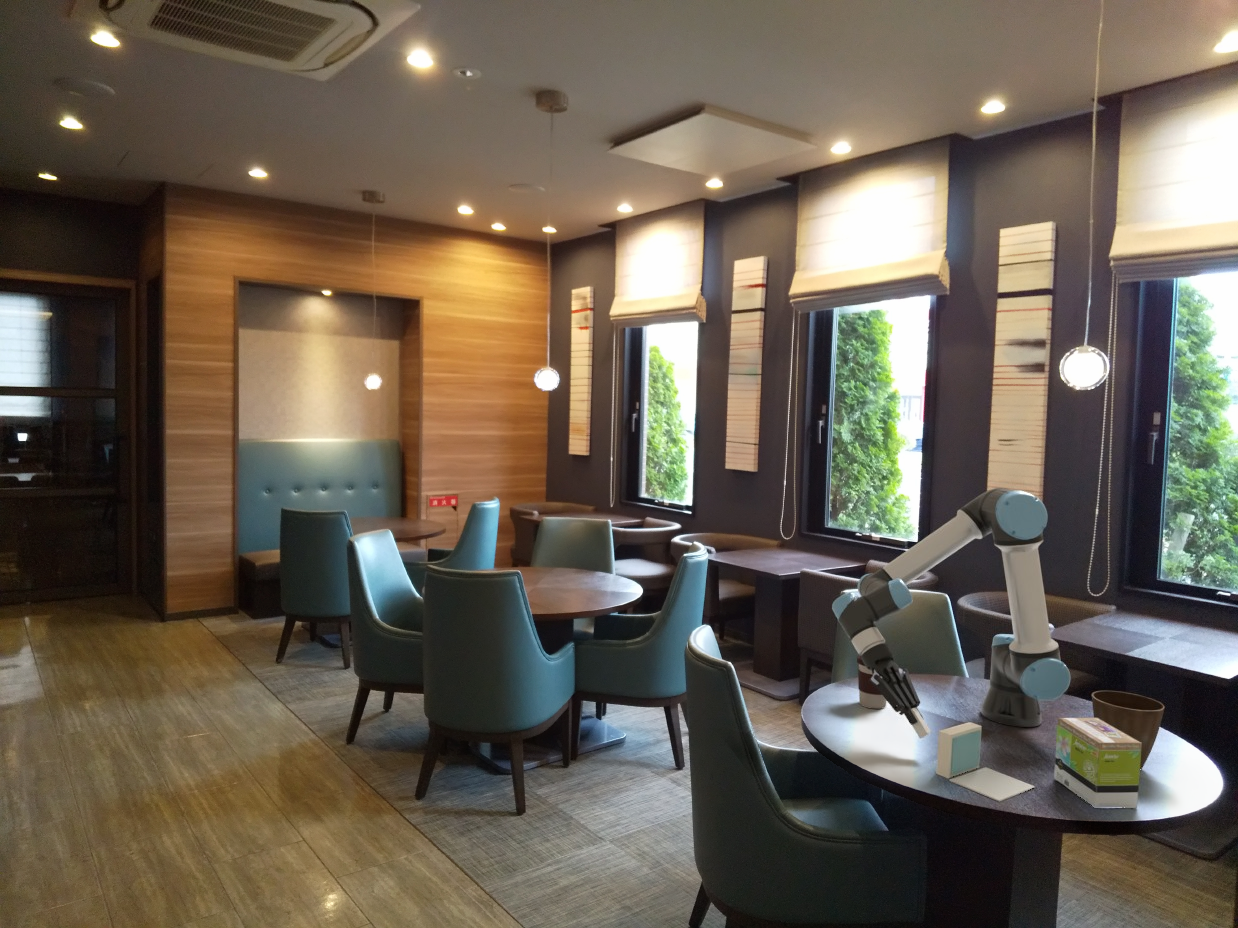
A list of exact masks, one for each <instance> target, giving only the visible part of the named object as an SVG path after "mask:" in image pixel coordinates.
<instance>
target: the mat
mask: <svg viewBox="0 0 1238 928" xmlns="http://www.w3.org/2000/svg"><path fill="white" fill-rule="evenodd" d="M948 779H949V782H951V783H953V784H956V785H958V786H961V787H963V788H965V789H968V790H970V791H973V792H975V793H978V794H980V795H983V796H985V797H986V798H990V799H992V800H994V801H997V802H999V803H1000V802H1002V801H1006V800H1008V799H1010V798H1013V797H1015V796H1018V795H1021V794H1023V793H1025V791H1026V792H1028V790H1029V791H1031V790H1033V789H1032V788H1034V789H1036V786H1035V785H1033V784H1029V783H1027V782H1025V781H1021V780H1019V779H1017V778H1014V777H1012V776H1009V775H1007V774H1004V773H1001V772H999V771H997V770H994V769H991V768H989V767H986V766H985V767H983V768H978V769H975V770H972V771H969V772H966V773H963V774H960V775H957V776H954V777H951V778H948ZM1030 789H1031V790H1030ZM1020 793H1021V794H1020Z"/></svg>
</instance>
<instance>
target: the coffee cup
mask: <svg viewBox="0 0 1238 928" xmlns="http://www.w3.org/2000/svg"><path fill="white" fill-rule="evenodd" d="M861 656H862V655H859V654H858V655H857V656H856V663H857V664H858V668H857V669H858V670H857V676H858V677H857V678H858V679H857V682H858V683H857V684H858V685H857V686H858V687H857V688H858V690H859V695H858V696H859V704H860V705H861V706H862V707H865V708H868V709H874V710H877V709H878V710H879V709H884V708H886V706H887V703H888V701H887V700H886V699H885V698H884V697H883V695H882V694H881V693H880V692H879V690H878V689H877V688H876V687H875V686H874V685H873V684H871V683H870V681H869V680H870V679H871V678H872V677H873V674H872V670H869V669H867V667H866V666H865V664H864V662H863V661H862V659H861Z"/></svg>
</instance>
